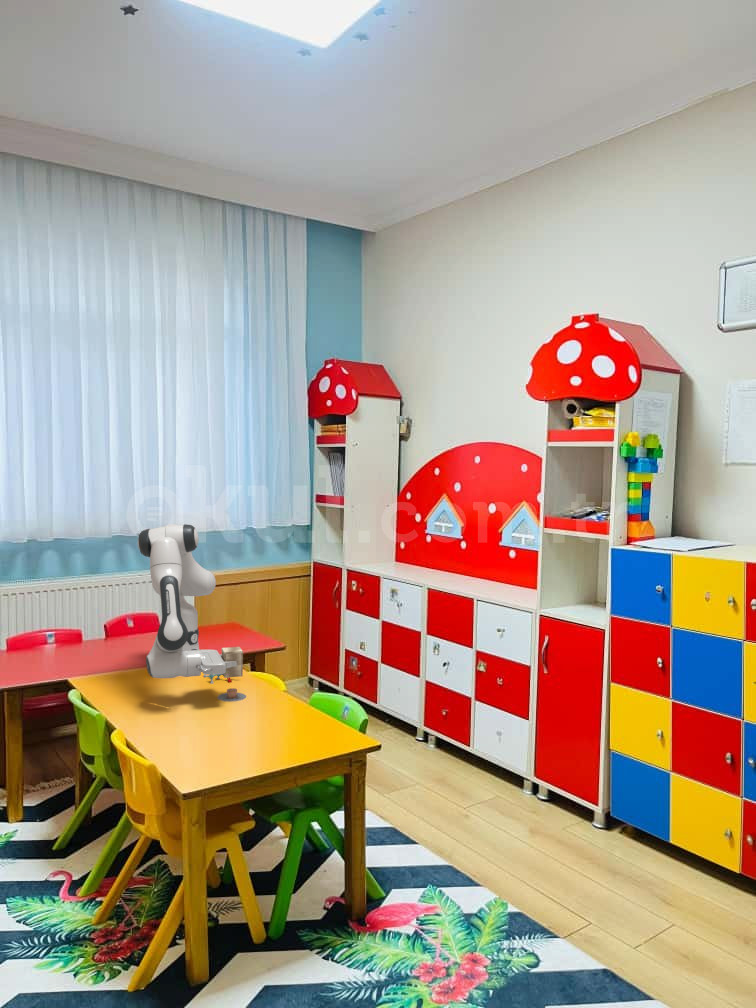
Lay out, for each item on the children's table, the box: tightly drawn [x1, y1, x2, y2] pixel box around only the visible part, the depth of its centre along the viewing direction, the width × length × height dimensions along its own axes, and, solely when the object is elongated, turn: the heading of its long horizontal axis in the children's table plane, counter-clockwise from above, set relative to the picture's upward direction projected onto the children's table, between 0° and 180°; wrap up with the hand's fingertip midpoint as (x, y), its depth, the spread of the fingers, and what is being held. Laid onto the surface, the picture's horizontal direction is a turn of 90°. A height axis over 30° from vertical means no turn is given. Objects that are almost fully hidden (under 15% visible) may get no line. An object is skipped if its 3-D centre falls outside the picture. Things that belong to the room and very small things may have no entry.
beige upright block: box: [221, 646, 244, 679], centre depth 277 cm, size 6×6×9 cm
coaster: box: [217, 692, 247, 703], centre depth 278 cm, size 10×10×1 cm
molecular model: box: [202, 674, 233, 685], centre depth 297 cm, size 12×10×10 cm
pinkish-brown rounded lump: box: [226, 687, 238, 698], centre depth 278 cm, size 4×4×2 cm
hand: (234, 660), depth 278 cm, fingers closed on beige upright block, 6 cm apart
